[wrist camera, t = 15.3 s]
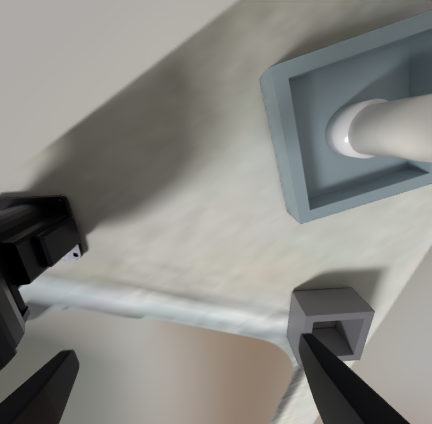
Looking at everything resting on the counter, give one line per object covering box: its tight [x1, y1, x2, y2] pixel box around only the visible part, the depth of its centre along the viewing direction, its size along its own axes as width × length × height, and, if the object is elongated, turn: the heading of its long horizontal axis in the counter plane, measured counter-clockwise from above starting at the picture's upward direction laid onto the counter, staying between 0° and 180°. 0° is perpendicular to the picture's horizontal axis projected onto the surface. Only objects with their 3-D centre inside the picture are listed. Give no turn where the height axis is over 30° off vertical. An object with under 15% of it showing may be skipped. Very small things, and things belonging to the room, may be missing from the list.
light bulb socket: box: [287, 288, 375, 365], centre depth 24 cm, size 7×7×4 cm
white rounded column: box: [325, 94, 432, 163], centre depth 11 cm, size 4×4×13 cm
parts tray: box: [260, 10, 432, 224], centre depth 17 cm, size 12×12×3 cm
